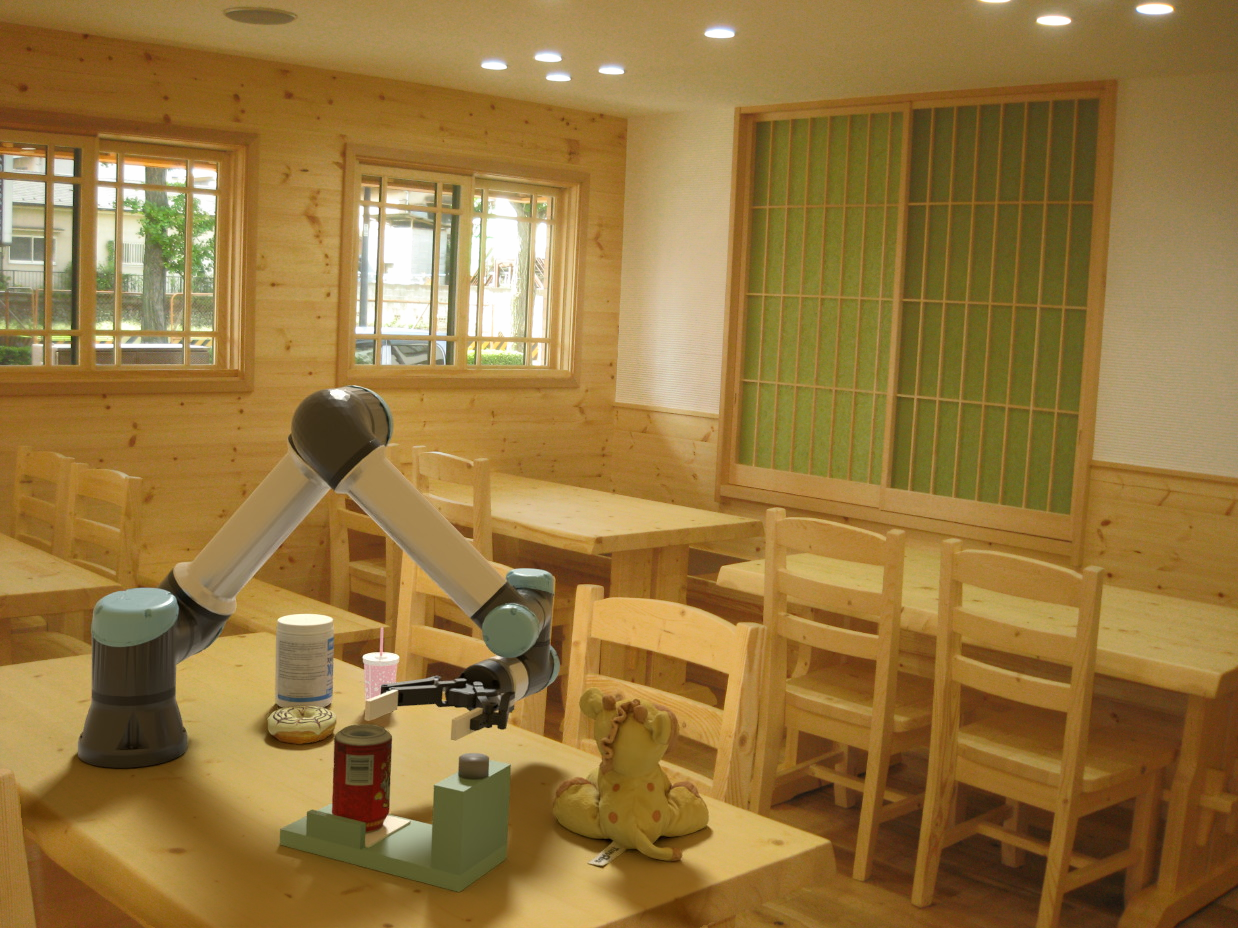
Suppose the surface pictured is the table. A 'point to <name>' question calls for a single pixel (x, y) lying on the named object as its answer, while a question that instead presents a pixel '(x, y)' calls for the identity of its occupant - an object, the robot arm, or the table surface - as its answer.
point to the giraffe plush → (630, 782)
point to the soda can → (362, 774)
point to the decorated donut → (301, 724)
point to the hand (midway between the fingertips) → (409, 720)
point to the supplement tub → (304, 660)
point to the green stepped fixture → (424, 831)
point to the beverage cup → (379, 670)
